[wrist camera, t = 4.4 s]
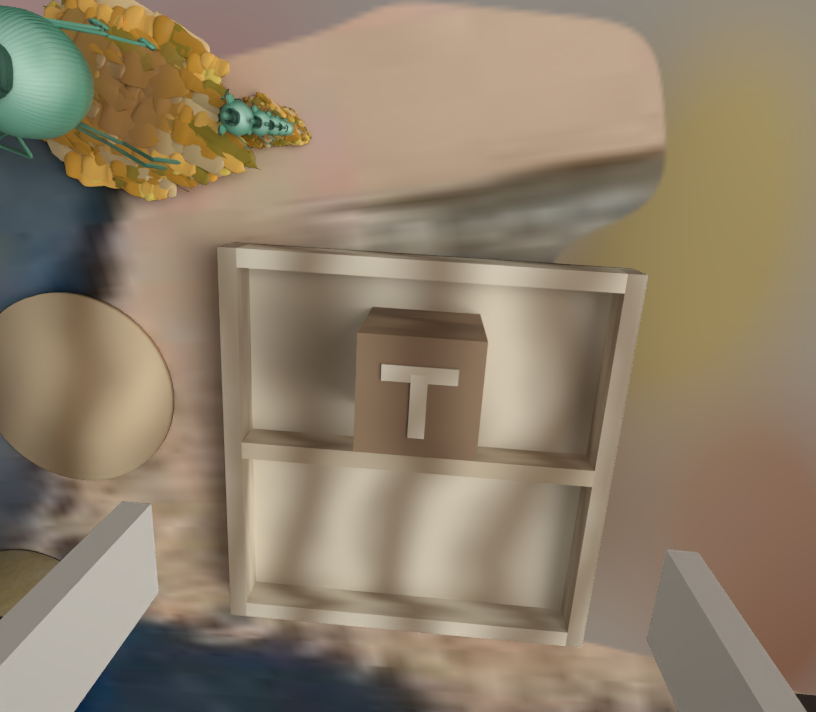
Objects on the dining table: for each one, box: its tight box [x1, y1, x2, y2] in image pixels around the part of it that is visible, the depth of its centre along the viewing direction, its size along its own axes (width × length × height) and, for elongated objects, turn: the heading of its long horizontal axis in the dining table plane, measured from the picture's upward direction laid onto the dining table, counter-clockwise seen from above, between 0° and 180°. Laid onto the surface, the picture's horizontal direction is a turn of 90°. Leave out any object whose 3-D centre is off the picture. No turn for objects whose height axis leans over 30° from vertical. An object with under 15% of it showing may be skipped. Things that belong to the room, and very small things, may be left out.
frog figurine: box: [0, 0, 311, 201], centre depth 24 cm, size 10×18×15 cm, turn 66°
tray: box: [217, 242, 648, 648], centre depth 33 cm, size 22×23×2 cm
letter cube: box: [353, 307, 488, 461], centre depth 30 cm, size 6×6×6 cm
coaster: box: [0, 292, 174, 480], centre depth 35 cm, size 12×12×1 cm
